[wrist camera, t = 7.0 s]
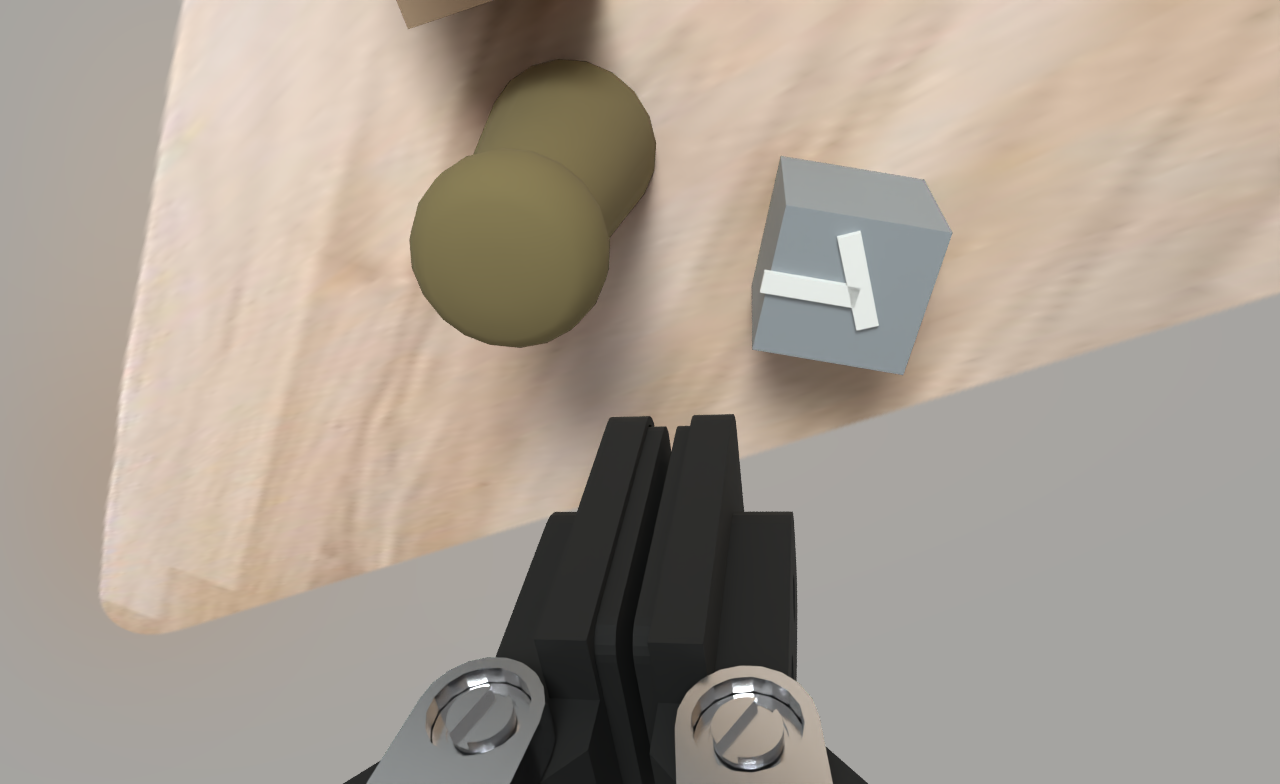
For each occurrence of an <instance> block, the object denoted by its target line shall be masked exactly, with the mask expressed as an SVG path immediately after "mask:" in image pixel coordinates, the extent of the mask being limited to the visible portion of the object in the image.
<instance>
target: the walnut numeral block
mask: <svg viewBox="0 0 1280 784" xmlns="http://www.w3.org/2000/svg"><path fill="white" fill-rule="evenodd" d="M396 1H397V3H398V5H399V8H400V10H401V13H402V15H403V18H404V20H405V23H406V25H407V27H408V29H410V28H413V27H416V26H419V25H422V24H425V23H428V22H431V21H434V20H437V19H440V18H443V17H446V16H449V15H452V14H455V13H458V12H460V11H463V10H466V9H469V8H472V7H475V6H478V5H481V4H484V3H487V2H490V1H493V0H396Z"/></svg>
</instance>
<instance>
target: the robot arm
mask: <svg viewBox="0 0 1280 784" xmlns="http://www.w3.org/2000/svg"><path fill="white" fill-rule="evenodd" d="M796 669H797V576H796V551H795V532H794V518H793V512H744V506H743V496H742V484H741V473H740V462H739V451H738V440H737V429H736V420H735V416H734V414H725V415H694V416H693V417H692V420H691V425H690V426H678V427H677V430H676V434H675V438H674V443H673V447H672V452H671V447H670V440H669V433H668V430H667V427H654V422H653V420H652V418H651V417H650V416H642V417H611V418H610V419H609V421H608V423H607V426H606V429H605V432H604V434H603V437H602V440H601V443H600V446H599V449H598V452H597V455H596V458H595V461H594V464H593V467H592V470H591V473H590V476H589V478H588V481H587V484H586V487H585V490H584V493H583V496H582V499H581V502H580V505H579V508H578V511H577V512H555V513H553V514H552V515H551V516H550V518H549V519H548V522H547V523H546V526H545V529H544V531H543V534H542V537H541V539H540V542H539V544H538V547H537V550H536V552H535V555H534V558H533V560H532V563H531V565H530V568H529V571H528V573H527V576H526V578H525V581H524V584H523V586H522V589H521V592H520V594H519V597H518V599H517V602H516V605H515V607H514V610H513V613H512V615H511V618H510V621H509V623H508V626H507V628H506V632H505V634H504V636H503V639H502V642H501V644H500V647H499V649H498V652H497V655H496V657H487V658H482V659H478V660H473V661H468V662H466V663H464V664H462V665H460V666H457V667H455V668H453V669H451V670H449V671H448V672H446V673H445V674H444V675H442V676H441V677H440V678H438V679H437V680H436V681H434V682H433V683H432V684H431V685H430V687H429V688H428V689H427V690H426V691H425V693H424V694H423V695H422V696H421V698H420V699H419V700H418V702H417V704H416V705H415V707H414V709H413V710H412V712H411V713H410V715H409V717H408V718H407V720H406V721H405V723H404V724H403V726H402V728H401V729H400V731H399V732H398V734H397V736H396V737H395V739H394V740H393V742H392V744H391V745H390V747H389V748H388V750H387V751H386V753H385V755H384V756H383V758H382V759H381V761H379V762H378V763H376V764H374V765H373V766H371V767H369V768H368V769H366V770H365V771H363V772H361V773H360V774H358V775H357V776H355V777H353V778H352V779H350V780H348V781H347V782H345V783H343V784H868V783H867V782H865V781H864V780H863V779H862V778H861V777H860V776H859V775H858V774H856V773H855V772H854V771H853V770H852V769H851V768H850V767H848V766H847V765H846V764H845V763H844V762H843V761H841V760H840V759H839V758H838V757H837V756H836V755H835V754H834V753H832V752H831V751H830V750H829V749H828V748H827V747H826V746H825V741H824V737H823V731H822V726H821V721H820V716H819V714H818V711H817V709H816V706H815V704H814V701H813V699H812V697H811V696H810V695H809V694H808V693H807V692H806V690H805V689H804V688H803V687H802V686H801V685H800V683H798V682H796V677H797V676H796V675H797V674H796V673H797V672H796V671H797V670H796Z"/></svg>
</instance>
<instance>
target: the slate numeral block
mask: <svg viewBox="0 0 1280 784" xmlns="http://www.w3.org/2000/svg"><path fill="white" fill-rule="evenodd" d="M951 235H952V231H951V229H950V227H949V225H948V223H947V222H946V220H945V218H944V216H943V214H942V212H941V210H940V208H939V206H938V205H937V203H936V201H935V199H934V197H933V195H932V193H931V191H930V190H929V188H928V186H927V184H926V182H925V180H923V179H917V178H911V177H905V176H899V175H893V174H887V173H881V172H875V171H869V170H863V169H857V168H850V167H844V166H838V165H832V164H826V163H820V162H814V161H808V160H802V159H796V158H790V157H784V156H781V157H780V162H779V166H778V170H777V175H776V179H775V184H774V188H773V193H772V197H771V202H770V206H769V211H768V215H767V220H766V224H765V229H764V233H763V238H762V242H761V247H760V251H759V255H758V260H757V264H756V269H755V273H754V278H753V282H752V350H758V351H764V352H770V353H776V354H782V355H788V356H794V357H800V358H806V359H811V360H817V361H823V362H829V363H835V364H841V365H847V366H853V367H859V368H865V369H871V370H877V371H883V372H889V373H894V374H900V375H903V374H904V371H905V368H906V365H907V363H908V360H909V357H910V354H911V351H912V348H913V345H914V342H915V339H916V337H917V334H918V331H919V328H920V325H921V322H922V319H923V316H924V313H925V311H926V308H927V305H928V302H929V299H930V296H931V293H932V290H933V287H934V285H935V282H936V279H937V276H938V273H939V270H940V267H941V264H942V261H943V259H944V256H945V253H946V250H947V247H948V244H949V241H950V238H951Z"/></svg>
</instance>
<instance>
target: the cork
mask: <svg viewBox="0 0 1280 784" xmlns="http://www.w3.org/2000/svg"><path fill="white" fill-rule="evenodd" d="M655 150H656V141H655V137H654V133H653V129H652V125H651V121H650V117H649V115H648V113H647V112H646V110H645V108H644V107H643V105H642V103H641V102H640V100H639V99H638V97H637V95H636V94H635V92H634V91H633V90H632V89H631V88H629V87H628V86H627V85H626V84H625V83H624V82H623V81H621V80H620V79H619V78H618V77H617V76H616V75H615V74H613V73H612V72H609V71H607V70H605V69H602V68H600V67H598V66H595V65H593V64H591V63H589V62H586V61H574V60H562V59H557V60H553V61H550V62H546V63H542V64H538V65H534V66H531V67H530V68H528V69H527V70H526V71H524V72H523V73H521V74H520V75H518V76H517V77H515V78H514V79H512V80H511V81H510V82H509V83H508V85H507V86H506V87H505V89H504V90H503V92H502V93H501V94H500V96H499V97H498V99H497V100H496V101H495V103H494V105H493V108H492V110H491V113H490V115H489V117H488V120H487V122H486V125H485V127H484V130H483V132H482V135H481V137H480V140H479V142H478V144H477V147H476V149H475V152H474V154H473V155H471V156H467V157H465V158H464V159H462V160H461V161H459V162H458V163H456V164H455V165H453V166H452V167H450V168H448V169H447V170H445V171H444V172H442V173H441V174H440V175H439V176H438V177H437V178H436V179H435V181H434V182H433V183H432V185H431V186H430V188H429V189H428V190H427V192H426V193H425V195H424V196H423V197H422V199H421V200H420V202H419V203H418V207H417V211H416V215H415V219H414V222H413V226H412V230H411V235H410V251H411V263H412V269H413V272H414V274H415V276H416V279H417V281H418V284H419V286H420V288H421V291H422V293H423V295H424V296H425V297H426V299H427V300H428V301H429V302H430V304H431V305H432V306H433V307H434V309H435V310H436V311H437V312H438V314H439V315H440V316H441V317H442V319H443V320H445V321H446V322H447V323H449V324H450V325H452V326H453V327H454V328H456V329H457V330H458V331H460V332H461V333H463V334H464V335H466V336H469V337H471V338H474V339H476V340H479V341H482V342H484V343H487V344H490V345H498V346H508V347H518V348H522V347H527V346H532V345H538V344H543V343H548V342H549V341H551V340H553V339H555V338H557V337H559V336H561V335H562V334H564V333H566V332H568V331H570V330H571V329H572V328H573V327H575V326H576V325H577V324H578V323H579V322H580V321H581V319H582V318H583V317H584V316H585V315H586V314H587V313H588V312H589V311H590V310H591V308H592V307H593V306H594V305H595V304H596V302H597V299H598V297H599V294H600V292H601V289H602V287H603V284H604V282H605V280H606V277H607V273H608V270H609V248H610V240H609V238H610V236H611V235H612V234H613V233H614V231H615V230H616V229H617V228H618V226H619V225H620V224H621V223H622V221H623V220H624V219H625V217H626V216H627V215H628V214H629V212H630V211H631V210H632V209H633V207H634V206H635V205H636V204H637V202H638V201H639V200H640V199H641V197H642V196H643V195H644V193H645V191H646V188H647V186H648V184H649V181H650V179H651V176H652V174H653V171H654V165H655Z"/></svg>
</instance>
